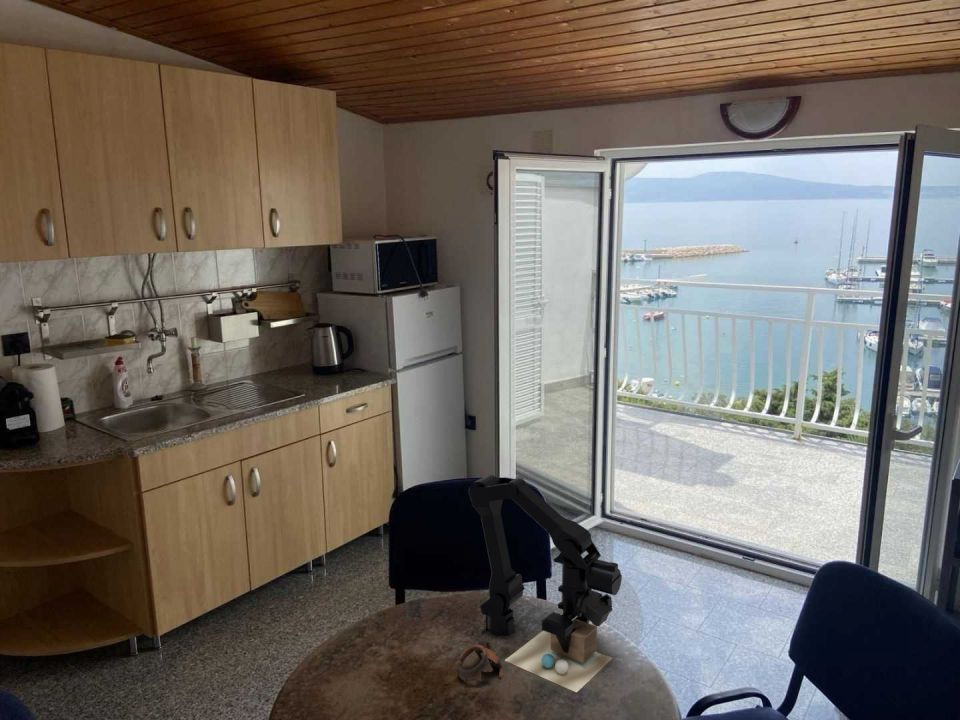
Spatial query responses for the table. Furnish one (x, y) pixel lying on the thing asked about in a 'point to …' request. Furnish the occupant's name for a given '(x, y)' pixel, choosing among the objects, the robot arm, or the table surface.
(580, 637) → the walnut cover
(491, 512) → the robot arm
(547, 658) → the marble teal
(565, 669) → the marble ivory
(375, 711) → the table surface
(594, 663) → the serving board
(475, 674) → the pottery mug
